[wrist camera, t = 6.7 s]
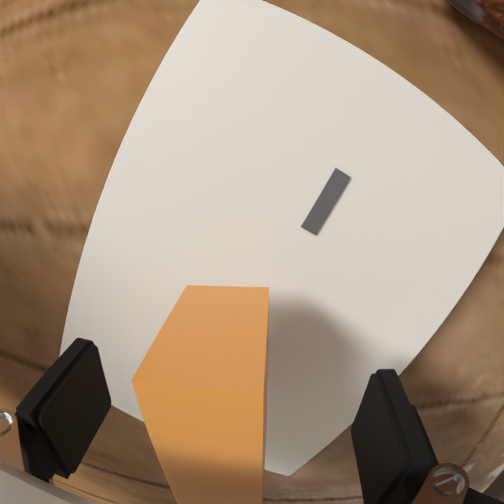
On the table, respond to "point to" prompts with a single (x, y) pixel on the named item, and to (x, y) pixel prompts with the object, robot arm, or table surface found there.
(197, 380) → the orange block on post
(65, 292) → the table surface
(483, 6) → the tin
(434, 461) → the robot arm
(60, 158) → the table surface
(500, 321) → the table surface
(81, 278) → the base plate
